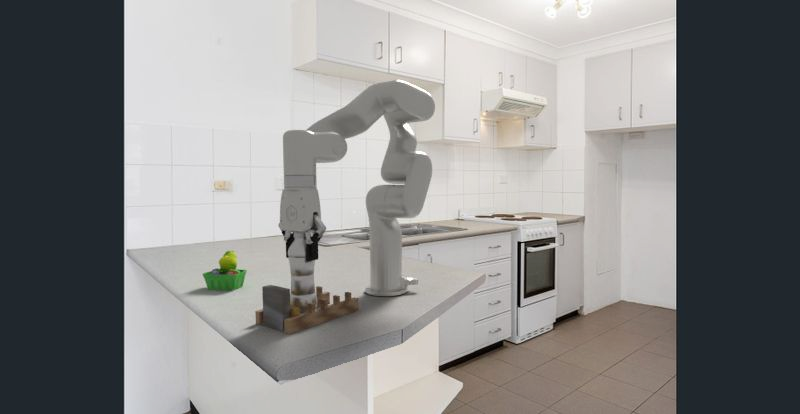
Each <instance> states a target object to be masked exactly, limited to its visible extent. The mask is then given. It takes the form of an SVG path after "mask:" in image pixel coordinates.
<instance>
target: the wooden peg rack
mask: <svg viewBox="0 0 800 414" xmlns="http://www.w3.org/2000/svg"><path fill="white" fill-rule="evenodd" d="M261 290H262V291H261V292H262V309H257V310H255V324H256V325H263V326H265V327H268V328H271V329H272V330H273V329H274V330H276V331H281V332H284V333H285V334H288V335H291V334H293V333H297V332H300V331H303V330H305V329H308V328H310V327H313V326H317V325H320V324H322V323H325V322H328V321H331V320H333V319H337V318H340V317H342V316H346V315H349V314H350V313H354V312H356V311H359V303H360V302H359V301H360V300H359V298H358V297H352V292H349V291H346V292H344V300H341V296H340V295H336V294H335V295H332V304H331V302H330V301H331V300H330V299H331V297H330V295H331V294H330V293H331V292H330V291H323V286H319V285H317V286H315V292H316V295H317V307H316V309H315V303H308V312H306V313H300V308H298V307H294V306H290V293H291V288H287V287H283V286H278V285H274V284H273V285H272V284H267V285H264V286H262V289H261Z"/></svg>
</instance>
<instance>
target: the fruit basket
mask: <svg viewBox="0 0 800 414" xmlns="http://www.w3.org/2000/svg"><path fill="white" fill-rule="evenodd" d="M218 264H219V268H213V269H212V270H209V271H207V272H203V273H202V276H203V278H204V281H205V284H206V288H207V289H208V290H217V291H219V290H223V291H236V290H238V289H240V288H241V287H243V286H244V283H245V277H246V274H247V272H248V270H247V269H237V266H238V260H237V254H236V253H235V251H234V250H227V251H225V253H224V254H223V256H222V257H220V258H219V261H218Z"/></svg>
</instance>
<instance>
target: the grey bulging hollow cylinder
mask: <svg viewBox="0 0 800 414" xmlns="http://www.w3.org/2000/svg"><path fill="white" fill-rule="evenodd" d="M293 237H294V238H295V239H294V241H293V243H292V244H291V245H290V247H289V249H288V256H289V257H288V258H287V259H288V261H289V262H288V263H289V269H290V306H294V307H298V308H300V314H303V313H306V312H308V303H315V309H317V308H318V307H317V295H316V286H315V264H316V260H313V261H307V260H306V244H309V243H308V241H307V238H306V235H305V232H294V235H293Z"/></svg>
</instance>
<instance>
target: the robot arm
mask: <svg viewBox="0 0 800 414" xmlns="http://www.w3.org/2000/svg"><path fill="white" fill-rule="evenodd" d="M435 111H436V103H435V100H434V99H433V96H432V95H431V94H430V93H429V92H427V91H426V90H424V89H422V88H420V87H419V86H416V85H414V84H411V83H409V82H407V81H405V80H401V79H393V80H387V81H382V82H377V83H373V84H371V85H369V86H368V87H367V88H365V89H364V90H363V91H361V92H360V94H357V96H356V97H355V98H353V99H352V100H351V101H350V102H349V103H348V104H346V105H345V106H344V107H342V108H339V109H337V110H336V111H335V110H334V111H333V112H332V113H330V114H328V115H326V116H325V117H323V118H320V119H319V120H317V121H316V122H314V123H313V124H311V125H310V126H309V127H308V128H306V129H291V130H290V129H289V130H286V131H285V132H284V133H283V136H282V151H283V152H282V155H283V160H282V161H283V187H284V188H283V189H282V191H281V195H280V196H281V197H280V204H279V206H280V207H279V223H278V225H277V226H278V228H279V229H280V231H281V234H282V236H283V241H284V242H285V257H286V259H289V258H288V257H289V256H288V249H289V247H290V245H291V244H292V243H293V241H294V239H295V238H294V237H293V235H294V232H305V235H306V238H307V241H308V243H309V244H306V260H307V261H313V260H315V261H316V260H317V261H318V260H319V243H320V242H321V239H322V237H323V236H324V233H325V232H326V231H327V226H326V225H325V224H324V222H323V221H322V212H321V211H322V210H321V202H320V201H321V200H320V195H319V190H318V188H317V164H326V163H327V164H329V163H331V164H332V163H335V162H340V161H341V160H342V159H343V158H344V157H345V156H346V155H347V152H348V144H347V143H348V142H347V141H346V139H350V138H354V137H357V136H358V135H362V134H364V133H365V132H367V131H368V130H369V129H370V128H371V127H372V126H373V125H374V124H375V123H376V122H377V121H378V120H379V119H380V118H381V117H382V116H383V118H384V121H385V122H386V126H387V127H388V130H389V132H388V133H389V141H388V144H387V145H388V146H387V149H386V151H385V155H384V158H383V160H382V164H381V168H380V176H381V179H382V180H383V181H384V182H385V183H387V184H378V185H375V186H373V187H372V188H370V189H369V190H368V191H367V194H366V196H365V207H366V213H367V217H368V224H369V225H368V226H369V227H368V228H369V266H370V267H369V269H370V270H369V272H370V273H369V275H370V277H369V278H370V279H369V281H370V284H369V285H367V286H366V287H365V290H364V291H365V293H366V294H368V295H370V296H375V297H395V296H400V295H405V294H406V293H407V292H408V290H409V289H408V288H409V287H408V286H418V285H419V279H418V278H414V277H405V276H404V274H403V232H402V228H401V225H400V223H399V220H398V219H415V218H416V217H418V216H419V215H420V214H421V212H422V210H423V207H424V205H425V201H426V199H427V194H428V190H429V187H430V185H431V180H432V175H433V164H432V163H433V162H432V159H431V158H430V156H429V155H428V154H427V153H425V152H423V151H416V149H417V145H418V140H417V137H416V134H415V132H414V131H413V130H412V128H411V127H410V124H411V123H412V124H413V123H419V122H425V121H428V120H430V119H431V118H432V117H433V116H434V114H435Z"/></svg>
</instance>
